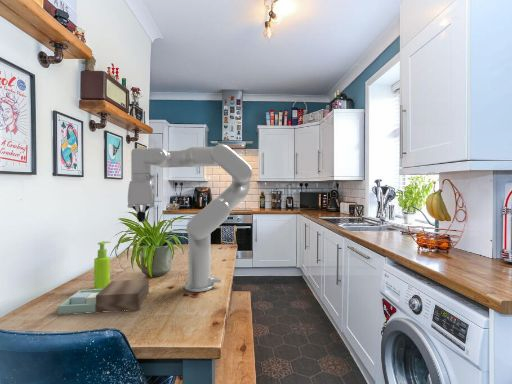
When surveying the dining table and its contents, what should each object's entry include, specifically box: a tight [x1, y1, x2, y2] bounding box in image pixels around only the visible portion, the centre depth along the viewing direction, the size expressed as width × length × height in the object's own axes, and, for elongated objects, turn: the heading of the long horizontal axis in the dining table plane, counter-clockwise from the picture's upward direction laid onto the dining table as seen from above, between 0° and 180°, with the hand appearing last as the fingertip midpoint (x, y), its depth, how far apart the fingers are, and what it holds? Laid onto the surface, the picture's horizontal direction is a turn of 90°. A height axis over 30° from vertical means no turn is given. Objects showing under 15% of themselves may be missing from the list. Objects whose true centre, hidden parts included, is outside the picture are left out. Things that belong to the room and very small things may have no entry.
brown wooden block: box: [96, 278, 150, 313], centre depth 107 cm, size 14×16×6 cm
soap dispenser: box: [93, 240, 111, 289], centre depth 123 cm, size 6×7×20 cm
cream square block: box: [86, 293, 98, 304], centre depth 105 cm, size 5×5×3 cm
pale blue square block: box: [70, 292, 92, 305], centre depth 106 cm, size 5×5×3 cm
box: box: [57, 288, 103, 316], centre depth 105 cm, size 12×16×3 cm
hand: (141, 221), depth 120 cm, fingers closed
